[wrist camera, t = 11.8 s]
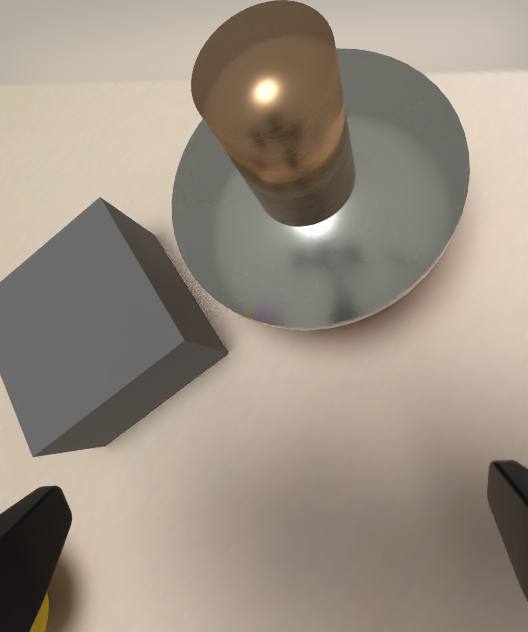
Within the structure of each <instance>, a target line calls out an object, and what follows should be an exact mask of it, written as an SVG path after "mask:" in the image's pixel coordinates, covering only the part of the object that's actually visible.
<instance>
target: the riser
mask: <svg viewBox="0 0 528 632" xmlns="http://www.w3.org/2000/svg"><path fill="white" fill-rule="evenodd" d="M227 354H228V352H227V350H226V349H225V347H224V346H223V344H222V342H221V341H220V339H219V338H218V336H217V334H216V333H215V331H214V330H213V328H212V326H211V325H210V323H209V322H208V320H207V318H206V317H205V315H204V314H203V312H202V310H201V309H200V307H199V306H198V304H197V302H196V301H195V299H194V298H193V296H192V294H191V293H190V291H189V290H188V288H187V286H186V285H185V283H184V282H183V280H182V278H181V277H180V275H179V274H178V272H177V271H176V269H175V267H174V266H173V264H172V263H171V261H170V259H169V258H168V256H167V255H166V253H165V251H164V250H163V248H162V247H161V245H160V243H159V242H158V240H157V239H156V237H155V235H153V234H152V233H151V232H149V231H148V230H146V229H145V228H143V227H142V226H141V225H139V224H138V223H136V222H135V221H133V220H132V219H131V218H129V217H128V216H126V215H125V214H123V213H122V212H121V211H119V210H118V209H116V208H115V207H113V206H112V205H111V204H109V203H108V202H106V201H105V200H103V199H102V198H101V197H100V198H98V199H97V200H96V201H95V202H94V203H93V204H91V205H90V206H89V207H88V208H87V209H85V210H84V211H83V212H82V213H81V214H80V215H78V216H77V217H76V218H75V219H74V220H73V221H71V222H70V223H69V224H68V225H67V226H66V227H64V228H63V229H62V230H61V231H60V232H59V233H57V234H56V235H55V236H54V237H53V238H51V239H50V240H49V241H48V242H47V243H46V244H44V245H43V246H42V247H41V248H40V249H39V250H37V251H36V252H35V253H34V254H33V255H32V256H30V257H29V258H28V259H27V260H26V261H25V262H23V263H22V264H21V265H20V266H19V267H17V268H16V269H15V270H14V271H13V272H12V273H10V274H9V275H8V276H7V277H6V278H5V279H3V280H2V281H1V282H0V375H1V377H2V380H3V382H4V385H5V387H6V390H7V392H8V395H9V398H10V400H11V403H12V405H13V408H14V410H15V413H16V415H17V418H18V421H19V423H20V426H21V428H22V431H23V433H24V436H25V439H26V441H27V444H28V446H29V449H30V451H31V454H32V456H33V457H36V456H43V455H50V454H56V453H63V452H69V451H76V450H82V449H89V448H95V447H102V446H106V445H107V444H108V443H110V442H111V441H112V440H114V439H115V438H116V437H118V436H119V435H120V434H122V433H123V432H124V431H126V430H127V429H128V428H130V427H131V426H132V425H134V424H135V423H136V422H138V421H139V420H140V419H142V418H143V417H144V416H146V415H147V414H148V413H150V412H151V411H152V410H154V409H155V408H156V407H158V406H159V405H160V404H162V403H163V402H164V401H166V400H167V399H168V398H170V397H171V396H172V395H174V394H175V393H176V392H178V391H179V390H180V389H182V388H183V387H184V386H186V385H187V384H188V383H190V382H191V381H192V380H194V379H195V378H196V377H198V376H199V375H200V374H202V373H203V372H204V371H206V370H207V369H208V368H210V367H211V366H212V365H214V364H215V363H216V362H218V361H219V360H220V359H222V358H223V357H224V356H226V355H227Z"/></svg>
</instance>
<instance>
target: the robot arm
mask: <svg viewBox="0 0 528 632" xmlns="http://www.w3.org/2000/svg"><path fill="white" fill-rule="evenodd" d="M487 497H488V502H489V506H490V508H491V511H492V514H493V516H494V519H495V521H496V524H497V527H498V529H499V532H500V535H501V537H502V540H503V542H504V545H505V548H506V550H507V553H508V555H509V558H510V561H511V563H512V566H513V569H514V571H515V574H516V576H517V579H518V581H519V584H520V586H521V588H522V591H523V593H524V595H525V597H526V599H527V601H528V469H527V468H526V467H524V466H523V465H521V464H520V463H518V462H516V461H514V460H496V461H492V462H491V463H490V465H489V474H488V488H487ZM71 522H72V513H71V510H70V508H69V505H68V503H67V501H66V498H65V496H64V494H63V491H62V489H61V488H60V487H58V486H44V487H40V488H37V489H36V490H34V491H33V492H32V493H30V494H29V495H27V496H26V497H24V498H23V499H21V500H20V501H19V502H17V503H16V504H14V505H13V506H11V507H10V508H8V509H7V510H6V511H4V512H3V513H1V514H0V632H30V630H31V628H32V626H33V623H34V621H35V619H36V617H37V615H38V612H39V610H40V608H41V606H42V603H43V601H44V599H45V596H46V593H47V591H48V588H49V586H50V583H51V580H52V577H53V574H54V571H55V569H56V566H57V563H58V560H59V557H60V555H61V552H62V549H63V546H64V543H65V540H66V538H67V535H68V532H69V529H70V526H71Z"/></svg>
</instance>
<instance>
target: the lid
mask: <svg viewBox="0 0 528 632" xmlns="http://www.w3.org/2000/svg"><path fill="white" fill-rule="evenodd" d="M191 91H192V97H193V101H194V103H195V106H196V108H197V110H198V112H199V113H200V115H201V116H202V118H203V120H202V121H201V122H200V124H199V125H198V127H197V128H196V130H195V132H194V133H193V135H192V136H191V138H190V140H189V142H188V144H187V146H186V148H185V150H184V152H183V155H182V157H181V160H180V163H179V166H178V169H177V173H176V177H175V181H174V186H173V195H172V221H173V227H174V234H175V237H176V241H177V244H178V247H179V250H180V253H181V255H182V257H183V259H184V261H185V263H186V265H187V267H188V268H189V270H190V272H191V273H192V275H193V276H194V278H195V279H196V280H197V281H198V283H199V284H200V285H201V286H202V287H203V288H204V289H205V290H206V291H207V292H208V293H209V294H210V295H211V296H212V297H214V298H215V299H216V300H217V301H218V302H220V303H221V304H223V305H224V306H226V307H228V308H229V309H231V310H232V311H234V312H236V313H238V314H239V315H241V316H243V317H246V318H248V319H250V320H252V321H255V322H257V323H260V324H264V325H267V326H271V327H274V328H281V329H288V330H321V329H329V328H335V327H339V326H343V325H347V324H351V323H354V322H357V321H359V320H362V319H364V318H367V317H369V316H372V315H374V314H376V313H378V312H380V311H381V310H383V309H385V308H387V307H389V306H390V305H392V304H394V303H395V302H396V301H398V300H399V299H401V298H402V297H403V296H405V295H406V294H407V293H409V292H410V291H411V290H412V289H413V288H414V287H415V286H416V285H417V284H419V283H420V282H421V281H422V280H423V279H424V278H425V277H426V276H427V274H428V273H429V272H430V271H431V270H432V268H433V267H434V266H435V265H436V263H437V262H438V261H439V260H440V258H441V256H442V255H443V253H444V251H445V250H446V248H447V246H448V245H449V243H450V241H451V239H452V237H453V234H454V232H455V230H456V227H457V225H458V223H459V220H460V217H461V215H462V211H463V208H464V204H465V200H466V196H467V192H468V183H469V174H470V168H469V151H468V146H467V142H466V137H465V133H464V130H463V128H462V125H461V123H460V120H459V117H458V115H457V114H456V112H455V110H454V108H453V107H452V105H451V103H450V102H449V100H448V99H447V98H446V96H445V95H444V94H443V93H442V92H441V91H440V89H439V88H438V87H437V86H436V85H435V84H434V83H433V82H432V81H430V80H429V79H428V78H427V77H426V76H425V75H423V74H422V73H420V72H419V71H417V70H416V69H414V68H412V67H411V66H409V65H408V64H406V63H403V62H401V61H399V60H396V59H394V58H392V57H389V56H386V55H382V54H378V53H375V52H370V51H364V50H357V49H336V47H335V41H334V36H333V33H332V30H331V28H330V26H329V24H328V22H327V21H326V20H325V18H324V17H323V16H322V15H321V14H320V13H319V12H318V11H316V10H315V9H313V8H311V7H310V6H307V5H305V4H303V3H298V2H295V1H287V0H280V1H279V0H278V1H270V2H265V3H261V4H257V5H254V6H252V7H249V8H247V9H245V10H243V11H241V12H239V13H237V14H236V15H234V16H233V17H231V18H230V19H228V20H227V21H226V22H224V23H223V24H222V25H221V26H220V27H219V28H218V29H217V30H216V31H215V32H214V33H213V34H212V35H211V36H210V38H209V39H208V40H207V42H206V43H205V45H204V46H203V48H202V49H201V51H200V53H199V55H198V57H197V60H196V62H195V65H194V69H193V73H192V80H191Z"/></svg>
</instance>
